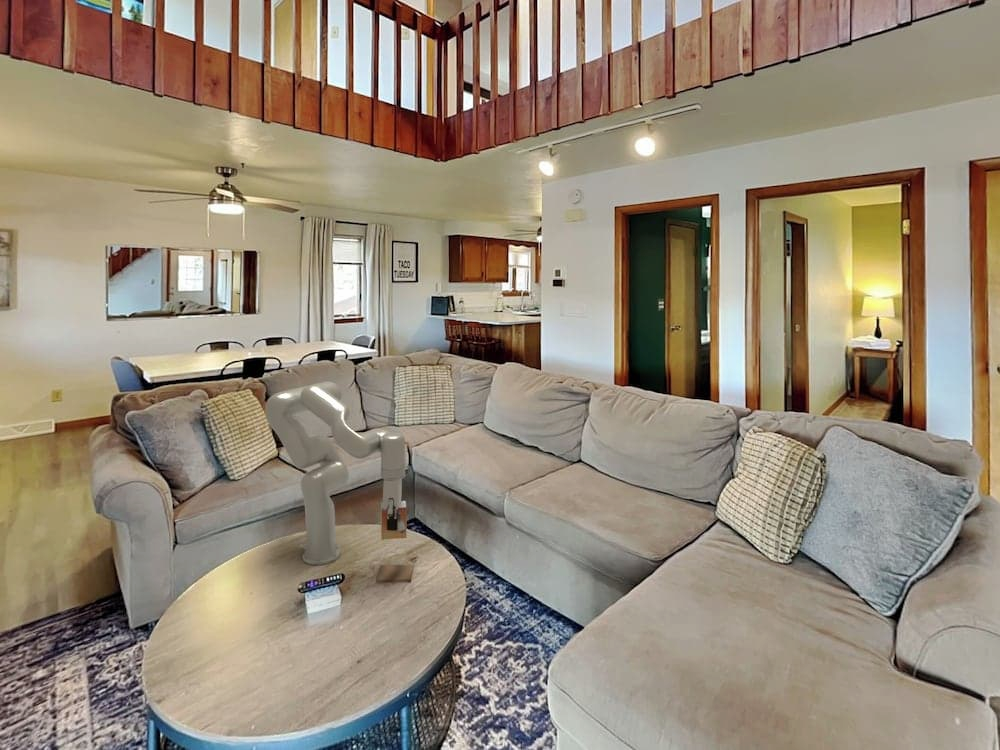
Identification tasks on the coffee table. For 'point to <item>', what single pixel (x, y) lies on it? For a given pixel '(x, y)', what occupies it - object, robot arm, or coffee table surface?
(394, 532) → the small box
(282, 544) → the coffee table surface
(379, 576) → the walnut coaster board
